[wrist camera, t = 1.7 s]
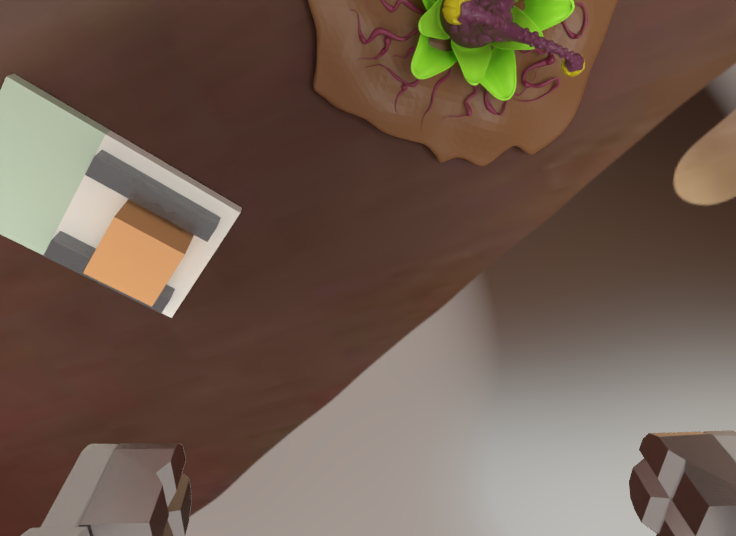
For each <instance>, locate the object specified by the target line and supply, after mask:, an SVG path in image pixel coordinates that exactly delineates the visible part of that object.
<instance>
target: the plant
mask: <svg viewBox="0 0 736 536" xmlns="http://www.w3.org/2000/svg"><path fill="white" fill-rule="evenodd" d="M307 1H308V4H309V7H310V10H311V13H312V16H313V20H314V23H315V28H316V36H317V60H316V69H315V74H314V79H313V88H314V90H315V91H316V92H317V93H318V94H320V95H321V96H323V97H324V98H325V99H326V100H328V101H329V102H330V103H331V104H332V105H333V106H335V107H337V108H338V109H340V110H343V111H345V112H348V113H350V114H353V115H356V116H359V117H361V118H363V119H365V120H367V121H369V122H370V123H371V124H373V125H374V126H375V127H377V128H378V129H379V130H381V131H382V132H384V133H386V134H389V135H391V136H395V137H398V138H402V139H406V140H410V141H414V142H418V143H422V144H424V145H426V146H427V147H428V148H429V149H430V150H431V151H432V152H433V153H434V155H435V156H436V158H437V159H438V161H439V162H440V163H443V162H446V161H448V160H450V159H453V158H463V159H466V160H468V161H470V162H471V163H473V164H475V165H477V166H485V165H487V164H489V163H491V162H492V161H493V160H494V159H496V158H497V157H498V156H499V155H500V154H502V153H503V152H504V151H505V150H507V149H509V148H511V147H513V146H517V147H518V148H520V149H521V150H522V151H524V152H525V153H527V154H531V155H532V154H534V153H536V152H538V151H539V150H541V149H542V148H543V147H545V146H547V145H548V144H549V143H551V142H552V141H553V140H554V139H555V138H557V137H558V136H559V135H560V134H561V133H562V132H563V131H564V130H565V129H566V127H567V126H568V125H569V124H570V122H571V121H572V119H573V117H574V115H575V113H576V111H577V108H578V106H579V103H580V101H581V98H582V95H583V92H584V89H585V86H586V83H587V80H588V77H589V74H590V71H591V68H592V66H593V63H594V61H595V58H596V56H597V54H598V52H599V49H600V47H601V44H602V42H603V39H604V37H605V34H606V32H607V29H608V26H609V23H610V20H611V18H612V15H613V12H614V9H615V7H616V5H617V3H618V1H619V0H307Z"/></svg>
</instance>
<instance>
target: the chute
mask: <svg viewBox="0 0 736 536" xmlns="http://www.w3.org/2000/svg"><path fill="white" fill-rule="evenodd" d="M128 199H130V200H132V201H133V202H135V203H137V204H139V205H141V206H143V207H144V208H146V209H148V210H150V211H152V212H153V213H155V214H157V215H159V216H161V217H163V218H164V219H166V220H168V221H170V222H172V223H173V224H175V225H177V226H179V227H181V228H182V229H184V230H186V231H188V232H190V233H192V234H193V235H194V236H193V238H192V241H191V243H190V245H189V247H188V249H187V251H186V254H185V255H184V257H183V259H182V260H181V262H180V263H179V265H178V267H177V268H176V270H175V271H174V273H173V274H172V276H171V278H170V279H169V281H168V282H167V284H166V285H165V287H164V289H163V290H162V292H161V293H160V295H159V297H158V298H157V300H156V301H155V303H154V304H153V306H152V307H151V306H149V305H147V304H145V303H143V302H141V301H139V300H137V299H135V298H133V297H131V296H129V295H127V294H125V293H123V292H121V291H118V290H116V289H114V288H112V287H110V286H108V285H106V284H104V283H102V282H100V281H98V280H96V279H94V278H92V277H90V276H88V275H86V274H84V273H83V272H84V270H85V268H86V267H87V265H88V263H89V261H90V259H91V258H92V256H93V254H94V252H95V250H96V248H97V247H98V245H99V243H100V241H101V239H102V238H103V236H104V234H105V232H106V230H107V229H108V227H109V225H110V223H111V221H112V220H113V218H114V216H115V215H116V214H117V213H118V211H119V210H120V209H121V208H122V206H123V205H124V204H125V203H126V202H127V200H128ZM241 210H242V207H240V206H238V205H237V204H235V203H233V202H231V201H230V200H228V199H226V198H225V197H223V196H221V195H220V194H218V193H216V192H214V191H213V190H211V189H209V188H208V187H206V186H204V185H203V184H201V183H199V182H197V181H196V180H194V179H192V178H191V177H189V176H187V175H186V174H184V173H182V172H180V171H179V170H177V169H175V168H174V167H172V166H170V165H169V164H167V163H165V162H163V161H162V160H160V159H158V158H157V157H155V156H153V155H152V154H150V153H148V152H146V151H145V150H143V149H141V148H140V147H138V146H136V145H135V144H133V143H131V142H129V141H128V140H126V139H124V138H123V137H121V136H119V135H118V134H116V133H114V132H112V131H111V130H109V129H107V128H106V127H104V126H102V125H101V124H99V123H97V122H95V121H94V120H92V119H90V118H89V117H87V116H85V115H84V114H82V113H80V112H78V111H77V110H75V109H73V108H72V107H70V106H68V105H67V104H65V103H63V102H61V101H60V100H58V99H56V98H55V97H53V96H51V95H50V94H48V93H46V92H44V91H43V90H41V89H39V88H38V87H36V86H34V85H33V84H31V83H29V82H27V81H26V80H24V79H22V78H21V77H19V76H17V75H16V74H11V75H8V76H6V78H5V81H4V83H3V85H2V88H1V90H0V234H1V235H3V236H5V237H7V238H9V239H11V240H13V241H15V242H17V243H19V244H21V245H23V246H25V247H27V248H29V249H31V250H33V251H36V252H38V253H40V254H42V255H43V256H44V257H46V258H48V259H50V260H52V261H55V262H57V263H59V264H61V265H63V266H65V267H67V268H69V269H71V270H73V271H75V272H77V273H79V274H81V275H83V276H85V277H87V278H89V279H91V280H93V281H96V282H98V283H100V284H102V285H104V286H106V287H108V288H110V289H112V290H114V291H116V292H118V293H120V294H122V295H124V296H126V297H128V298H130V299H132V300H134V301H136V302H139V303H141V304H143V305H145V306H147V307H149V308H151V309H153V310H155V311H157V312H159V313H162V314H164V315H167V316H169V317H171V318H172V317H173V315H174V314H175V312H176V311H177V309H178V307H179V306H180V304H181V303H182V301H183V300H184V298H185V297H186V295H187V294H188V292H189V291H190V289H191V288H192V286H193V285H194V283H195V282H196V280H197V279H198V277H199V275H200V274H201V272H202V271H203V269H204V268H205V266H206V265H207V263H208V262H209V260H210V259H211V257H212V256H213V254H214V253H215V251H216V250H217V248H218V246H219V245H220V243H221V242H222V240H223V239H224V237H225V236H226V234H227V233H228V231H229V230H230V228H231V227H232V225H233V224H234V222H235V221H236V219H237V218H238V216H239V214H240V213H241Z"/></svg>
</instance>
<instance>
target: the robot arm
mask: <svg viewBox="0 0 736 536" xmlns="http://www.w3.org/2000/svg"><path fill="white" fill-rule="evenodd" d="M639 450H640V452H641V453H642V455H643V457H644V459H643V460H642V461H641V462H639V463H638V464H637V465H636V466H634V467H633V470H632V473H631V477H630V480H629V486H630V497H631V500H632V503H633V506H634V509H635V511H636V513H637V515H638V517H639V518H640V520H641V522H642V523H643V524H645V525H646V526H647V527H649V528H650V529H651V530H653V531H654V532H655V533H657V535H656V536H736V432H734V431H705V432H677V433H675V432H674V433H649V434H648V435H647V436H646V437H644V438H643V440H642V443H641V446H640V449H639ZM185 461H186V458H185V453H184V448H183V445H181V444H167V443H121V444H89V445H88V446H87V447H86V448H85V449H84V450H83V451H82V452H81V454H80V456H79V457H78V459H77V461H76V463H75V465H74V467H73V468H72V470H71V472H70V474H69V476H68V478H67V479H66V481H65V483H64V485H63V487H62V489H61V490H60V492H59V494H58V496H57V498H56V500H55V501H54V503H53V505H52V507H51V509H50V511H49V512H48V514H47V516H46V518H45V520H44V522H43V523H42V525H41V527H40V528H30V529H29V530H27V531H26V532H25V533H23V534H22V535H21V536H185V534H186V530H187V527H188V523H189V517H190V509H191V486H190V480H189V478H188V477H187V476H186V475H184V474H183V473H182V471H183V468H184V465H185Z"/></svg>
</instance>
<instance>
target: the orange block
mask: <svg viewBox="0 0 736 536" xmlns="http://www.w3.org/2000/svg"><path fill="white" fill-rule="evenodd" d="M193 236H194V235H193V234H192V233H190V232H188V231H186V230H184V229H182V228H181V227H179V226H177V225H175V224H173V223H172V222H170V221H168V220H166V219H164V218H163V217H161V216H159V215H157V214H155V213H153V212H152V211H150V210H148V209H146V208H144V207H143V206H141V205H139V204H137V203H135V202H133V201H132V200H130V199H128V200H127V202H126V203H125V204H124V205H123V206H122V208H121V209H120V210H119V211H118V213H117V214H116V215H115V216H114V218H113V220H112V221H111V223H110V225H109V227H108V229H107V230H106V232H105V234H104V236H103V238H102V239H101V241H100V243H99V245H98V247H97V248H96V250H95V252H94V254H93V256H92V258H91V259H90V261H89V263H88V265H87V267H86V268H85V270H84V272H83V273H84V274H86V275H88V276H90V277H92V278H94V279H96V280H98V281H100V282H102V283H104V284H106V285H108V286H110V287H112V288H114V289H116V290H118V291H121V292H123V293H125V294H127V295H129V296H131V297H133V298H135V299H137V300H139V301H141V302H143V303H145V304H147V305H149V306H151V307H152V306H153V304H154V303H155V301H156V300H157V298H158V297H159V295H160V293H161V292H162V290H163V289H164V287H165V285H166V284H167V282H168V281H169V279H170V278H171V276H172V274H173V273H174V271H175V270H176V268H177V267H178V265H179V263H180V262H181V260H182V259H183V257H184V255H185V254H186V251H187V249H188V247H189V245H190V243H191V241H192V238H193Z"/></svg>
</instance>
